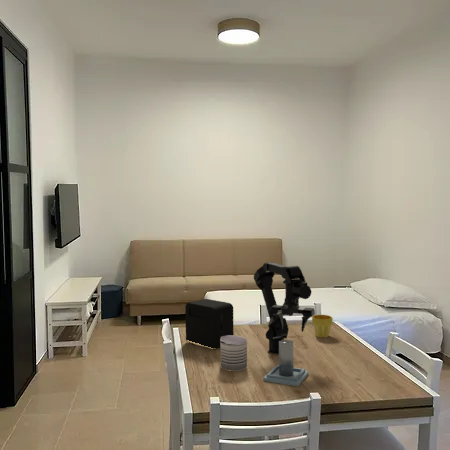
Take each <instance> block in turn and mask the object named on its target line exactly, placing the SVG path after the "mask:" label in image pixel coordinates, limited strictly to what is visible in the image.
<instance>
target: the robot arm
mask: <svg viewBox="0 0 450 450" xmlns="http://www.w3.org/2000/svg"><path fill="white" fill-rule="evenodd" d="M276 274H277V275H279V276H281V278H282V279H284V280H283V282H282V283H283V284H285V289H284V290H285V293H284V294H285V295H284V296H285V297H284V301H283V303H282V305H279V304H277V301H276V297H275V294H274V292H273V291H274V290H273V287H272V286H273V282H274V279H273V278H274V276H275V275H276ZM253 280H254V282H255V285H256V287H258V289H259V290H261V293H262V297H263V300H264V304H265V308H266V311H267V314H268V316H269V322H268V329H267V331H266V333H265V338H266V339H267V340H268V350H267V353H269V354H276V355H279V341H280V340H285V339H287V338H288V334H289V324H288V322H287V319H286V317H284V316H289V317H292V316H293V315H294V314H298V315H302V316H301V332H302V333H303V332H304V330H305V327H306V325H307V322H308V320H309V319H310V318H312V316H314V315H316V313H315V309H314V308H312V307H305V308H303V309H302V308H300V305H299V304H300V302H299V300H300V299H303V300H308V299H309V298H310V297H311V295H312V289H311V287H310V286H309V285H308V282H306V280H305V276H304V273H303V272H302V269H301V268H300V266H299V265H290V266H289V265H287V266H286V265H285V264H284V265H282V264H280V263H277V262H276V263H275V262H273V261H270V262H269V261H267V262H264V263H263V264H262V266H260V267H259V268H258V269H256V271H255V273H254V274H253Z"/></svg>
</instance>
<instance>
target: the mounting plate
mask: <svg viewBox="0 0 450 450" xmlns="http://www.w3.org/2000/svg"><path fill="white" fill-rule="evenodd" d="M308 375H309V371H308V370H306V368H299V367H295V366H293V376H290V377H285V376H280V375H279V364H276V365H275V366H274V367H272V368H271V370H270V371H268V373H267V374H265V376H263V378H262V380H263V382H268V383H275V384H281V385H286V386H294V387H299V386H300V385H301V384H302V383H303V381H304V380H305V379H306V377H307V376H308Z"/></svg>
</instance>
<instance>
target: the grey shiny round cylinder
mask: <svg viewBox="0 0 450 450" xmlns="http://www.w3.org/2000/svg"><path fill="white" fill-rule="evenodd" d="M278 365H279V375H280V376H285V377H290V376H293V367H294V341H293V340H291V339H284V340H280V341H279V354H278Z"/></svg>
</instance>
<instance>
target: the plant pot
mask: <svg viewBox="0 0 450 450" xmlns="http://www.w3.org/2000/svg"><path fill="white" fill-rule="evenodd" d="M333 320H334V319H333V316H331V315H328V314H315V315H314V316H312V317H311V323H312V325H313V327H314V328H313V329H314V334H315V337H317V338H327V337H329V336H330V331H331V327H332V325H333Z"/></svg>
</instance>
